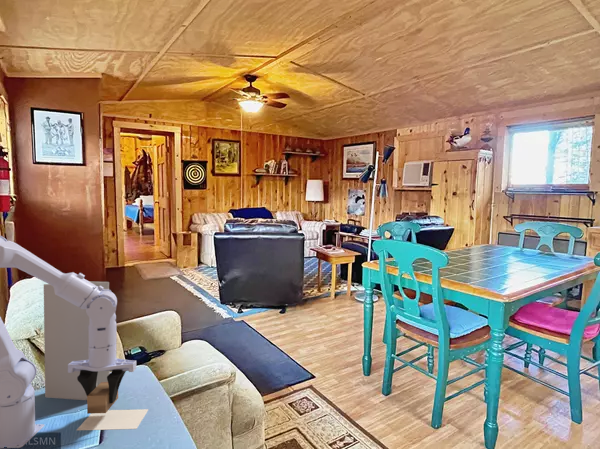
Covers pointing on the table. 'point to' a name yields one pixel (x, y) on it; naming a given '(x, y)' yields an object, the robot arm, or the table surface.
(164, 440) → the table surface
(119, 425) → the beige board
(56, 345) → the tall grey box
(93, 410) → the walnut block
